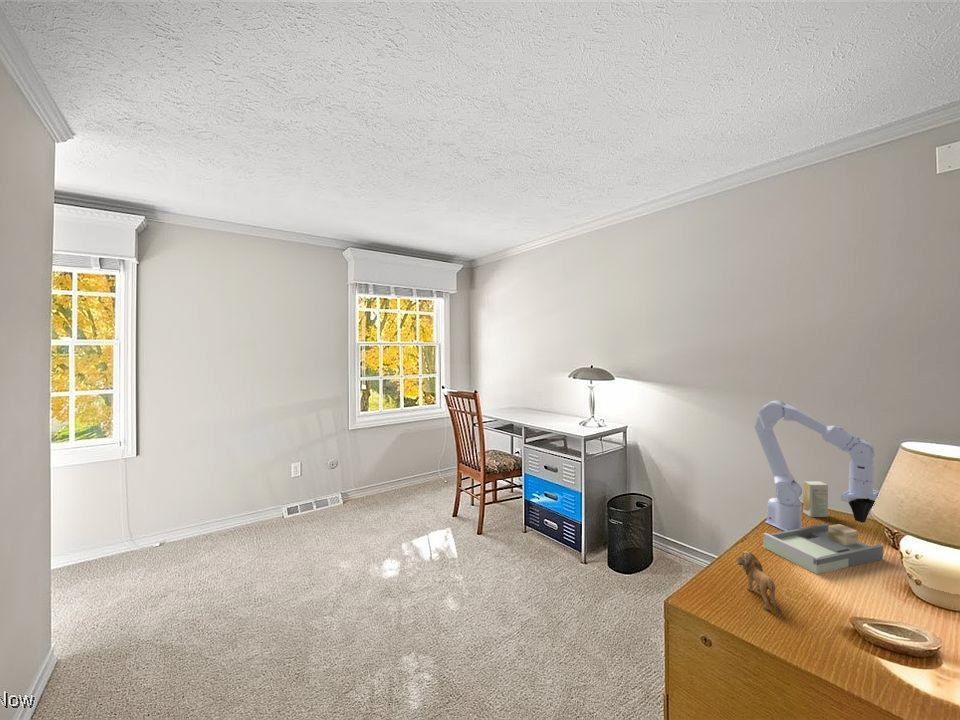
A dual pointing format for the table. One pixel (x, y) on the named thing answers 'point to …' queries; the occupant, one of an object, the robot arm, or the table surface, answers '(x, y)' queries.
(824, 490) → the skincare box
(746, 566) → the lion figurine
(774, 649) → the table surface
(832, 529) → the birch block
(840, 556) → the trap box
